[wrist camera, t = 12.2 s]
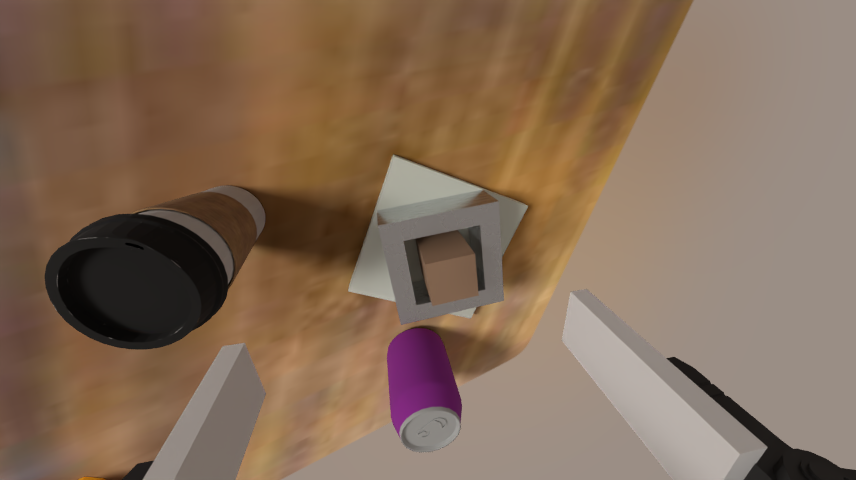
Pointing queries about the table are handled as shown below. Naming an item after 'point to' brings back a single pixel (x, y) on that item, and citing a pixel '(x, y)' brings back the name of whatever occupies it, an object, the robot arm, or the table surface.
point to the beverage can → (422, 391)
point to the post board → (412, 192)
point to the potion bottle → (91, 478)
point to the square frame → (437, 218)
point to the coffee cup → (154, 268)
